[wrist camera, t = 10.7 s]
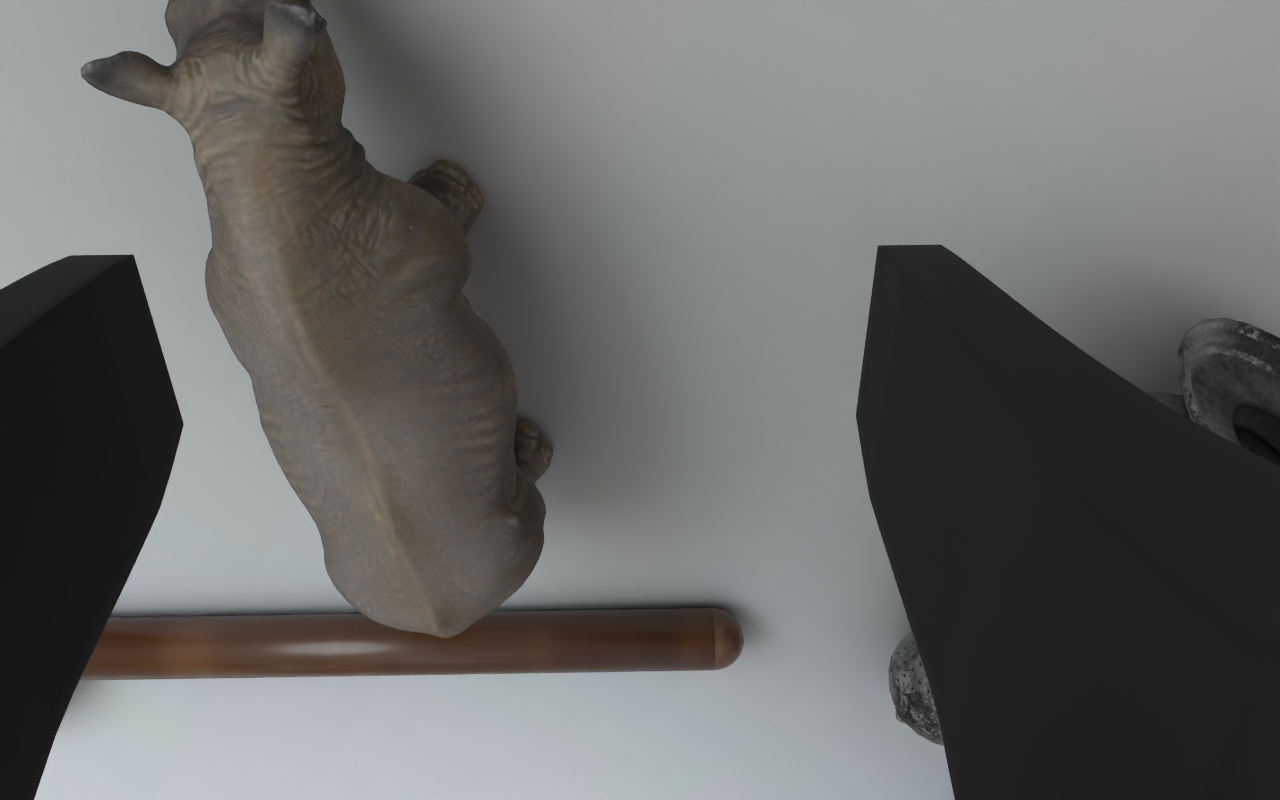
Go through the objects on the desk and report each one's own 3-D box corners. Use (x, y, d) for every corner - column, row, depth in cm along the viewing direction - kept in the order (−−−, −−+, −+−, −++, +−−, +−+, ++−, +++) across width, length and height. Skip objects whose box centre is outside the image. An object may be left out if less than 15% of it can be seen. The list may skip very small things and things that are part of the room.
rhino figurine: (357, -260, 17) (252, -179, 12) (586, 465, 25) (579, 689, 20) (91, -191, 17) (-114, -87, 12) (400, 498, 25) (349, 726, 20)
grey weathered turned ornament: (1220, 266, 23) (868, 568, 31) (1123, 379, 18) (747, 693, 27) (1466, 489, 21) (1032, 741, 30) (1423, 663, 17) (933, 898, 26)
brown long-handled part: (746, 527, 26) (752, 572, 25) (735, 694, 29) (740, 740, 28) (-235, 542, 26) (-274, 588, 25) (-134, 708, 29) (-164, 756, 28)
